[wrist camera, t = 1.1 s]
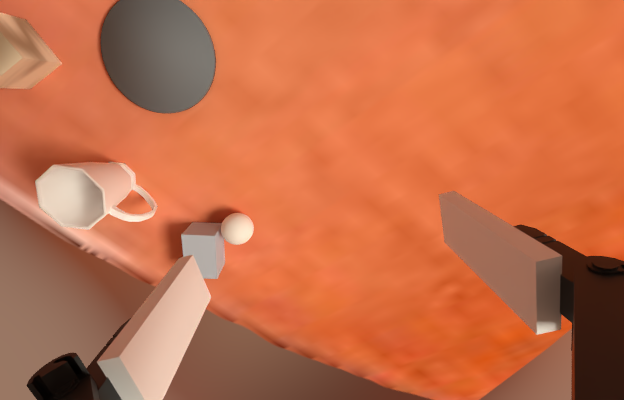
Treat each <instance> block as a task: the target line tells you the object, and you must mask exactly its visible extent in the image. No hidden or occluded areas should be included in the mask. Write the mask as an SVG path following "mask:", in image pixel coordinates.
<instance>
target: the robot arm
mask: <svg viewBox="0 0 624 400" xmlns="http://www.w3.org/2000/svg"><path fill="white" fill-rule="evenodd" d="M439 200H440V208H441V216H442V225H443V233H444V241H445V243H446V244H447V245H448V246H449V247H450V248H451V249H452V250H453V251H454V252H455V253H456V254H457V255H458V256H459V257H460V258H461V259H462V260H463V261H464V262H465V263H466V264H467V265H468V266H469V267H470V268H471V269H472V270H473V271H474V272H475V273H476V274H477V275H478V276H479V277H480V278H481V279H482V280H483V281H484V282H485V283H486V284H487V285H488V286H489V287H490V288H491V289H492V290H493V291H494V292H495V293H496V294H497V295H498V296H499V297H500V298H501V299H502V300H503V301H504V302H505V303H506V304H507V305H508V306H509V307H510V308H511V309H512V310H513V311H514V312H515V313H516V314H517V315H518V316H519V317H520V318H521V319H522V320H523V321H524V322H525V323H526V324H527V325H528V326H529V327H530V328H531V329H532V330H533V331H534V332H535V333H536V334H542V333H546V332H551V331H556V330H560V329H561V314H562V315H563V316H564V317H566V318H567V319H568V320H569V321H570V322H572V347H571V350H572V400H624V261H621V260H618V259H615V258H610V257H604V256H588V257H586V256H585V255H583V254H581V253H579V252H577V251H576V250H574V249H572V248H570V247H568V246H566V245H565V244H563V243H561V242H559V241H556V239H554V238H552V237H550V236H547V235H546V234H545V233H543V232H541V231H539V230H537V229H535V228H532V227H528V226H524V225H517V226H512V225H510V224H508V223H507V222H505V221H503V220H502V219H500V218H498V217H497V216H495V215H493V214H492V213H490V212H488V211H487V210H485V209H483V208H482V207H480V206H478V205H477V204H475V203H473V202H472V201H470V200H468V199H467V198H465V197H463V196H462V195H460V194H458V193H457V192H455V191H451V192H447V193H443V194H439ZM210 299H211V295H210V293H209V291H208V288H207V286H206V284H205V281H204V279H203V277H202V274H201V272H200V270H199V267H198V265H197V263H196V261H195V258H194V256H193V255H189V256H185V257H181V258H179V259H178V260H177V261H176V263H175V264H174V265H173V266H172V268H171V269H170V270H169V271H168V273H167V274H166V275H165V276H164V278H163V279H162V280H161V282H160V283H159V284H158V285H157V287H156V288H155V289H154V290H153V292H152V293H151V294H150V295H149V297H148V298H147V299H146V300H145V302H144V303H143V304H142V306H141V307H140V308H139V309H138V310H137V312H136V313H135V314H134V316H133V317H132V318H130V319H129V320H128V321H127V322H125V323H124V324H123V325H122V326H121V327H120V328H119V329H118V330H117V332H116V333H115V334H114V335H113V338H111V339H110V340H109V341H108V343H107V344H106V346H105V347H104V348H103V349H102V350H101V351H100V353H99V354H98V355H97V356H96V357H95V359H94V360H93V361H92V362H91V364H90V365H89V366H88V367H87V368H86V367H85V366H84V364H83V363H82V361H81V360H80V358H79V357H78V355H77V354H76V353H68V354H65V355H62V356H60V357H58V358H56V359H54V360H52V361H51V362H49V363H48V364H46V365H45V366H43V367H42V368H41V369H40V370H39V371H37V372H36V373H35V374H34V375H33V376H32V377H31V379H30V380H29V381H28V384H27V387H28V388H29V390H30V391H31V392H32V393H33V395H34V396H35V397H36V399H37V400H163V398H164V396H165V394H166V391H167V389H168V387H169V385H170V383H171V381H172V379H173V377H174V375H175V373H176V370H177V368H178V366H179V364H180V362H181V360H182V358H183V356H184V354H185V351H186V349H187V347H188V345H189V343H190V341H191V339H192V337H193V335H194V332H195V330H196V328H197V326H198V324H199V322H200V320H201V318H202V315H203V313H204V311H205V309H206V307H207V305H208V303H209V301H210Z"/></svg>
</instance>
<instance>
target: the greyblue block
mask: <svg viewBox="0 0 624 400" xmlns="http://www.w3.org/2000/svg"><path fill="white" fill-rule="evenodd" d="M221 225H222V223H207V222H192V223H191V224H190V225H189V227H188V228H187V229H186V230H185V231H184V232H183V233H182V234H181V238H182V249H183V257H185V256H189V255H193V256H194V258H195V261H196V263H197V265H198V267H199V270H200V272H201V274H202V277H203V278H207V279H217V278H218V276H219V274H220V272H221V270H222V268H223V266H224V264H225V251H224V237H223V236H222V233H221Z"/></svg>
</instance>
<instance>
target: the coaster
mask: <svg viewBox="0 0 624 400" xmlns="http://www.w3.org/2000/svg"><path fill="white" fill-rule="evenodd" d="M101 52H102V57H103V61H104V64H105V67H106V70H107V72H108V74H109V76H110V78H111V79H112V81H113V82H114V84H115V85H116V86H117V88H118V89H119V90H120V91H121V92H122V93H123V94H124V95H125V96H126V97H127V98H128V99H129V100H131V101H132V102H134V103H135V104H137V105H139V106H140V107H142V108H145V109H147V110H150V111H154V112H158V113H176V112H181V111H184V110H187V109H189V108H191V107H193V106H194V105H196V104H197V103H198V102H200V101H201V100H202V99H203V98H204V96H205V95H206V94H207V92H208V90H209V89H210V87H211V84H212V82H213V79H214V75H215V68H216V58H215V50H214V46H213V42H212V40H211V37H210V35H209V32H208V30H207V28H206V27H205V25H204V24H203V22H202V21H201V20H200V18H199V17H198V16H197V15H196V14H195V13H194V12H193V11H192V10H191V9H190V8H189V7H188V6H186V5H185V4H184V3H183V2H181V1H179V0H120V1H118V2H117V3H116V4H115V5H114V6H113V7H112V9H111V10H110V11H109V13H108V15H107V17H106V19H105V21H104V24H103V27H102V33H101Z"/></svg>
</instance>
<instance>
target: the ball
mask: <svg viewBox="0 0 624 400" xmlns="http://www.w3.org/2000/svg"><path fill="white" fill-rule="evenodd" d="M253 230H254V226H253V222H252V221H251V219H250V218H249V217H248V216H247V215H245V214H243V213H233V214H230V215H229V216H227V217H226V218H225V219H224V220H223V222H222V225H221V233H222V236H223V237H224V239H225V240H226V241H227V242H229V243H231V244H235V245H239V244H243V243H245V242H247V241H248V240H249V239H250V238H251V236H252V234H253Z"/></svg>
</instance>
